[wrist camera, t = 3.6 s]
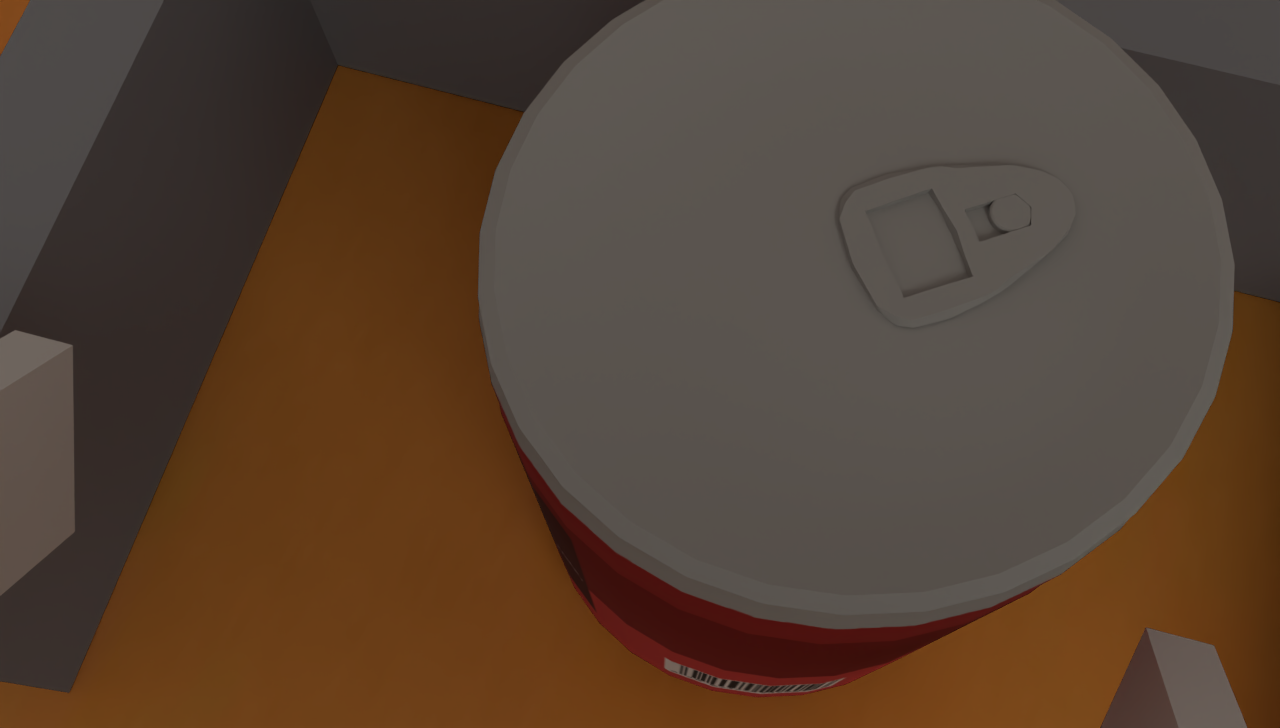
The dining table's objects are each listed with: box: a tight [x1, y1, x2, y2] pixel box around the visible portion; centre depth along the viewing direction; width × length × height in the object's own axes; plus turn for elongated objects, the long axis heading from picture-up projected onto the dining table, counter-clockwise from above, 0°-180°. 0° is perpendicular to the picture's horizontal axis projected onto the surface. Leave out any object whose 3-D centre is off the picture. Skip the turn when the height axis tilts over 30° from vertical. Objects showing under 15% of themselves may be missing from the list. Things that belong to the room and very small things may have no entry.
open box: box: [0, 0, 1280, 693], centre depth 20 cm, size 26×16×6 cm, turn 74°
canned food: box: [478, 0, 1235, 697], centre depth 18 cm, size 8×8×11 cm
